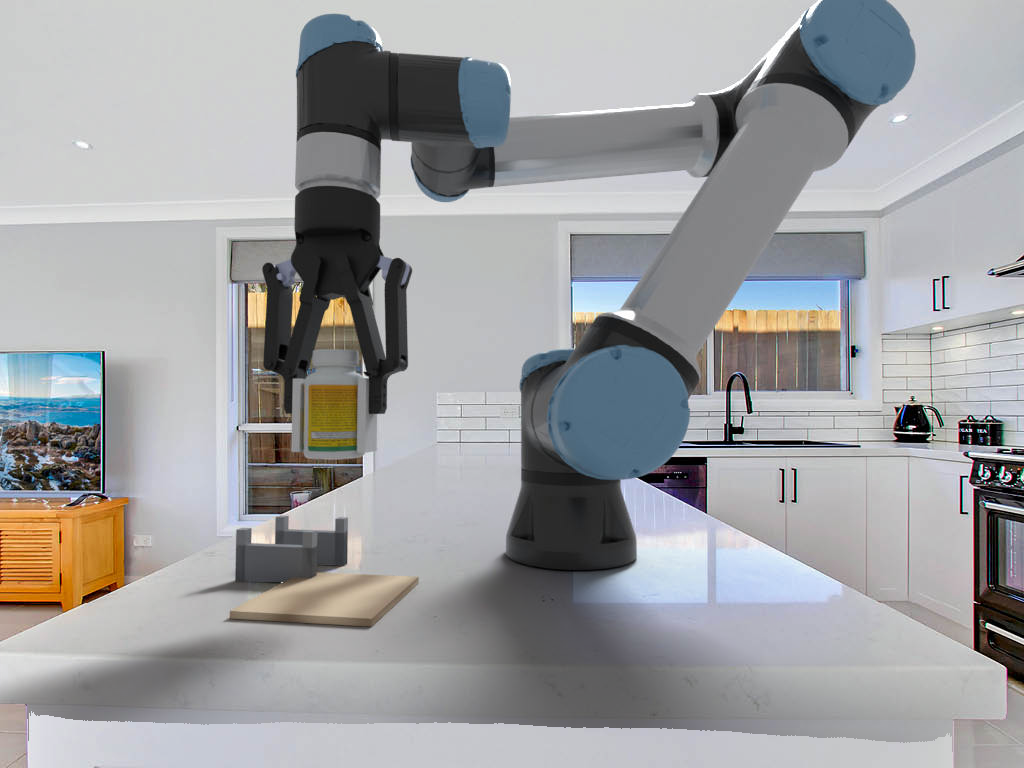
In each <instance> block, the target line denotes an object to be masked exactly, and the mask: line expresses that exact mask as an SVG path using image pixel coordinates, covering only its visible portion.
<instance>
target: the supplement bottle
mask: <svg viewBox="0 0 1024 768" xmlns="http://www.w3.org/2000/svg"><path fill="white" fill-rule="evenodd" d="M359 354H360V353H359V351H358V350H354V349H353V350H351V349H339V348H338V349H326V348H325V349H314V351H313V355H312V359H311V363H312V366H313V367H314V368H315V371H314V372H312V373H308V376H307V377H306V379H305V382H304V437H303V456H304V457H305V458H306V459H308V460H325V461H327V460H328V461H329V460H330V461H331V460H334V461H335V460H349V459H358V458H362V457H363V456H364V455H365V454H366V453H357V405H358V378H365V377H364V376H363V375H362V374H360V373H358V372H356V368H357V367H358V366H359V364H360V359H359V357H360V355H359Z"/></svg>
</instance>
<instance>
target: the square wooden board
mask: <svg viewBox="0 0 1024 768" xmlns="http://www.w3.org/2000/svg"><path fill="white" fill-rule="evenodd" d="M419 578H420V577H419V576H410V575H409V576H406V575H385V574H384V575H383V574H363V573H362V574H361V573H360V574H359V573H340V572H339V573H338V572H318V571H317V576H315V577H313V578H294V577H292V578H290V579H288V580H287V581H285V582H283V583H278V584H277V585H276V586H274V587H272V588H270V589H268V590H266V591H264V592H263V593H260V594H258V595H257V596H255V597H253V598H251V599H249V600H247V601H245V602H244V603H242V604H239V605H238V606H236V607H234V608H232V609H231V610H229V619H233V620H234V619H235V620H249V621H250V620H251V621H267V622H283V623H286V622H287V623H288V622H289V623H301V624H302V623H303V624H321V625H336V626H337V625H339V626H352V627H353V626H354V627H355V626H357V627H369V628H370V627H373V626H374V625H375V624H376V623H378V621H380V619H382V617H384V616H385V615H386V614H387V613H388V612H389V611H390V610H392V608H393V607H394V606H396V605H397V604H398V603H399V602H400V601H401V600H402V599H403V598H404V597H405V596H407V594H409V593H410V591H411V590H413V589H414V588H415V587H416V586H417V585H418V584H419V582H420V581H419Z"/></svg>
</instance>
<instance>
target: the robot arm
mask: <svg viewBox="0 0 1024 768" xmlns="http://www.w3.org/2000/svg"><path fill="white" fill-rule="evenodd" d="M916 54H917V52H916V44H915V42H914V39H913V37H912V36H911V30H910V27H909V25H908V23H907V22H906V20H905V19H904V17H903V16H902V14H901V12H899V11H898V10H897V8H895V6H894V5H893V4H891V2H889V1H888V0H818V1H817V2H816V3H815V4H813V5H812V6H810V7H809V8H807V9H806V10H804V12H803V14H802V15H801V18H799V19H798V21H797V22H796V23H795V24H794V25H793V26H792V27H790V29H789V30H788V31H787V32H786V33H785V35H783V37H782V38H781V39H779V40H778V42H777V43H776V44H775V45H774V46H773V47H772V48H771V49H770V50H769V51H768V52H767V53H766V55H764V57H762V58H761V60H760V61H759V62H758V63H757V64H756V65H755V66H754V67H753V68H752V70H751V71H750V72H749V73H748V74H747V75H745V77H743V78H742V79H741V80H740V81H738V82H736V83H735V84H733V85H731V86H729V87H727V88H725V89H722V90H719V91H716V92H708V93H698V94H696V95H694V96H693V97H691V99H690V100H689V102H688V103H683V104H671V105H660V106H659V105H657V106H645V107H633V108H630V107H629V108H618V109H605V110H604V109H603V110H594V111H593V110H590V111H580V112H579V111H577V112H567V113H551V114H539V115H538V114H537V115H525V116H511V105H512V104H511V100H512V89H511V87H512V86H511V85H512V84H511V76H510V73H509V71H508V68H507V67H506V66H505V65H504V64H502V63H500V62H495V61H487V60H481V59H476V58H475V59H474V58H473V57H471V56H465V57H459V56H447V55H446V56H445V55H432V54H417V53H416V54H415V53H405V52H404V53H403V52H399V53H398V52H392V51H391V50H384V48H383V44H382V39H381V37H380V35H379V33H378V32H377V30H375V28H373V27H372V26H371V25H370V24H369V23H367V22H365V21H364V20H354V19H353V18H352V17H351V16H350V15H349V14H341V13H326V14H320V15H317V16H315V17H314V18H311V19H310V20H308V22H307V23H305V25H304V27H303V28H302V29H301V32H300V37H299V49H298V58H297V59H298V60H297V66H296V69H295V78H296V143H295V144H296V145H295V148H296V149H295V173H294V174H295V175H294V177H295V178H294V187H295V188H296V190H297V191H298V193H297V194H296V195H295V197H294V225H293V226H294V227H293V229H294V235H295V242H296V243H295V247H294V249H293V251H292V253H291V255H290V258H289V259H287V260H285V261H282V262H280V263H279V262H278V263H277V264H274V263H271V262H265V263H264V264H263V265H262V268H261V270H262V274H263V278H264V282H265V285H266V289H267V290H266V306H265V322H264V324H265V326H264V344H263V345H264V346H263V361H262V365H263V368H264V370H265V371H268V372H269V371H270V372H273V373H275V374H278V375H280V376H281V377H282V379H283V381H284V383H283V385H284V386H283V389H284V390H283V410H284V412H285V415H289V414H291V451H290V452H291V453H302V452H303V453H304V451H303V437H304V382H305V379H306V377H307V376H308V375H309V369H310V366H311V363H312V359H313V351H314V350H315V348H316V344H317V341H318V338H319V333H320V330H321V327H322V323H323V320H324V316H325V313H326V311H328V310H329V307H330V304H331V301H333V300H338V299H340V298H343V299H345V301H346V303H347V305H348V306H349V309H350V314H351V317H352V320H353V325H354V328H355V332H356V337H357V340H358V344H359V348H360V352H361V356H362V359H363V364H364V368H365V371H363V374H364V376H366V377H364V378H358V405H357V453H365V454H366V453H371V452H377V451H378V448H377V446H378V445H377V443H378V442H377V441H378V437H377V435H378V415H384V414H386V411H387V410H388V402H387V401H388V379H389V378H390V377H391V376H392V375H394V374H398V373H400V372H405V371H406V370H407V369H408V367H409V351H408V350H409V349H408V348H409V346H408V341H409V340H408V310H407V309H408V305H407V289H408V286H409V284H410V280H411V277H412V274H413V268H412V266H411V264H409V263H407V262H406V261H404V260H403V259H402V258H400V257H395V258H391V257H388V256H385V255H384V253H383V251H382V249H381V246H380V240H381V204H380V202H379V201H378V199H379V197H380V195H381V175H382V174H381V171H382V170H381V169H382V168H381V167H382V166H381V165H382V161H381V160H382V140H389V141H392V142H402V143H403V142H404V143H406V142H407V143H411V146H410V147H411V153H410V155H411V156H410V167H411V170H412V173H413V175H414V180H415V183H416V184H417V187H418V189H420V191H421V192H422V193H423V194H424V195H425V196H426V197H428V198H429V199H431V200H434V201H435V202H438V203H439V202H440V203H453V202H455V201H458V200H460V199H461V198H463V197H464V196H465V195H466V194H468V193H469V191H470V190H476V189H486V188H497V187H499V188H500V187H509V186H520V185H521V186H522V185H532V184H542V183H543V184H544V183H555V182H565V181H578V180H590V179H599V178H600V179H601V178H602V179H603V178H611V177H612V178H613V177H622V176H633V175H634V176H635V175H645V174H658V173H668V172H678V171H679V172H681V171H686V172H687V173H688V174H689V175H690V176H691V177H692V178H695V179H696V178H698V179H699V178H706V179H705V181H704V182H703V184H702V185H701V186H700V188H699V190H698V191H697V193H696V194H695V196H694V197H693V199H692V200H691V202H690V203H689V204H688V206H687V208H685V209H686V210H685V211H684V212H683V214H682V215H681V217H680V219H679V220H678V221H677V223H676V224H675V226H674V228H672V230H671V232H670V234H669V235H668V236H667V238H666V239H665V241H664V242H663V244H662V245H661V247H660V249H659V250H658V252H657V253H656V254H655V256H654V257H653V258H652V261H651V262H650V264H649V265H648V267H647V268H646V270H645V271H644V273H643V274H642V276H641V277H640V279H639V280H638V282H637V283H636V285H635V286H634V288H633V289H632V290H631V292H630V294H629V296H627V299H626V300H625V301H624V303H623V304H622V306H621V308H620V309H618V310H613V311H609V312H608V311H607V312H603V313H599V314H598V315H597V316H596V317H595V319H594V320H593V322H592V323H591V325H590V326H589V327H588V329H587V330H586V331H585V333H584V335H583V336H582V338H581V339H580V341H579V342H578V344H577V345H576V346H575V348H561V349H552V350H548V352H539V353H536V354H534V355H532V356H529V357H528V358H527V359H526V360H525V362H524V363H523V365H522V367H521V376H520V381H519V390H520V398H521V399H520V469H521V470H520V490H519V493H518V496H517V498H516V499H517V500H516V503H515V506H514V509H513V513H512V514H511V518H510V521H509V524H508V527H507V530H506V536H505V554H506V556H507V557H508V558H509V559H510V560H512V561H514V562H517V563H520V564H523V565H527V566H531V567H537V568H543V569H552V570H568V571H569V570H570V571H572V570H573V571H584V570H585V571H591V570H602V569H603V570H604V569H612V568H617V567H621V566H624V565H628V564H630V563H633V562H634V561H635V560H636V559H637V557H638V556H637V555H638V552H637V550H638V549H637V547H638V546H637V545H638V544H637V543H638V542H637V536H636V535H637V534H636V532H635V530H634V526H633V523H632V520H631V516H630V513H629V511H628V507H627V504H626V501H625V498H624V495H623V493H622V487H621V486H622V484H621V483H622V481H621V480H631V479H637V478H640V477H643V476H646V475H648V474H650V473H652V472H654V471H656V470H658V469H659V468H660V467H662V466H663V465H665V464H666V463H667V462H669V460H670V459H671V458H672V456H673V455H674V454H675V453H676V452H677V450H678V449H679V447H680V446H681V445H682V443H683V442H684V439H685V437H686V434H687V431H688V428H689V424H690V420H691V419H690V418H691V417H690V416H691V409H690V407H689V399H690V397H691V396H692V394H693V392H694V390H695V389H696V388H697V386H698V384H699V383H700V381H701V378H702V373H701V369H700V366H699V363H698V360H697V357H698V354H699V352H700V351H701V349H702V348H703V346H704V345H705V343H706V342H707V340H708V338H709V337H710V335H711V334H712V332H713V330H714V329H715V327H716V325H718V323H719V321H720V320H721V318H722V316H723V315H724V314H725V312H726V310H727V308H728V307H729V306H730V304H731V303H732V300H733V299H734V298H735V296H736V294H737V293H738V291H739V290H740V288H741V287H742V285H743V284H744V282H745V280H746V279H747V277H748V276H749V274H750V273H751V271H752V269H753V268H754V266H755V264H756V263H757V261H758V260H759V258H760V256H761V255H762V253H763V252H764V251H765V248H766V247H767V246H768V244H769V243H770V241H771V239H772V238H773V236H774V235H775V233H777V230H778V228H779V227H780V225H781V224H782V223H783V221H784V219H785V217H786V216H787V215H788V213H789V211H790V210H791V208H792V207H793V205H794V203H795V202H796V200H797V199H798V197H799V196H800V194H801V193H802V191H803V189H804V188H805V186H806V185H807V183H808V181H809V179H810V178H811V177H812V175H813V173H814V172H815V173H816V172H820V171H823V170H826V169H828V168H830V167H832V166H833V165H835V164H837V162H839V160H840V159H841V158H842V157H843V155H844V154H845V152H846V151H847V149H848V148H849V146H850V144H851V143H852V141H853V140H854V138H855V137H856V135H857V133H858V132H859V130H860V129H861V127H862V125H863V124H864V123H865V121H866V120H867V118H869V116H870V115H871V114H872V113H873V112H874V111H875V110H877V108H879V107H880V106H881V105H882V106H883V105H886V104H887V103H889V102H890V101H892V100H894V98H895V97H896V96H897V95H898V94H899V92H901V91H902V90H903V89H904V88H906V86H907V84H908V83H909V81H911V77H912V75H913V72H914V70H915V65H916V58H917V57H916V56H917V55H916ZM380 271H381V276H382V277H381V278H382V280H384V329H385V332H384V333H385V350H384V346H383V342H382V339H381V335H380V332H379V328H378V323H377V320H376V316H375V312H374V307H373V306H374V300H373V298H372V297H373V296H372V294H371V290H370V286H371V284H372V283H373V282H374V280H375V278H376V277H377V275H378V274H379V272H380ZM296 274H297V275H298V276H299V278H300V279H301V281H302V286H301V290H300V293H299V297H298V298H299V299H298V301H299V303H300V304H299V309H298V311H297V315H296V317H295V318H296V319H295V321H294V326H293V330H292V325H293V324H292V322H293V305H294V303H293V302H294V293H293V291H294V290H293V286H294V285H295V284H296V279H295V276H296ZM367 377H368V378H367Z"/></svg>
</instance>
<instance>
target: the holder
mask: <svg viewBox="0 0 1024 768" xmlns="http://www.w3.org/2000/svg"><path fill="white" fill-rule="evenodd" d="M289 518H290V517H289V515H282V514H281V515H277V516H275V522H274V523H275V526H274V529H275V530H274V536H275V537H274V543H257V542H256V543H255V542H252V531H253V530H252V527H240V528H238V529H236V530H235V532H236V533H235V574H234V576H235V580H234V581H235V582H248V583H249V582H250V583H251V582H252V583H267V582H285V581H287V580H288V579H290V578H292V577H294V578H313V577H315V576H317V572H318V571H317V570H318V569H317V568H318V566H317V565H320V566H339V567H340V566H341V567H344V566H346V565H348V553H349V551H348V548H349V547H348V543H349V541H348V537H349V517H347V516H343V517H342V516H340V517H336V518H335V520H334V521H335V523H334V530H326V529H324V530H322V529H296V528H295V529H293V528H291V529H289Z"/></svg>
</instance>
